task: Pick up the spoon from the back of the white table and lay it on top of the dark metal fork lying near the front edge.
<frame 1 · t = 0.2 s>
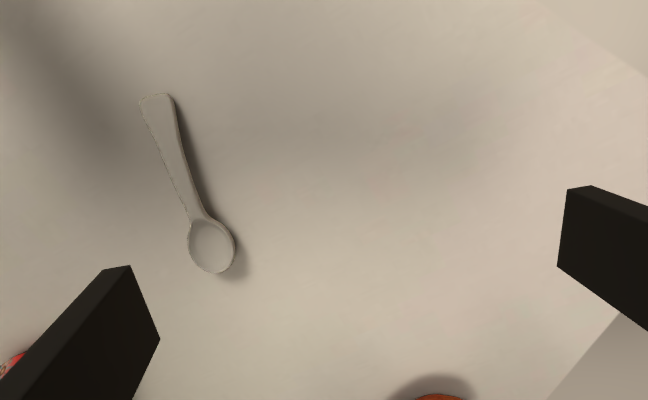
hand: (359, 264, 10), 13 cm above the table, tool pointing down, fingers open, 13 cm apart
spoon: (194, 186, 22), on the table
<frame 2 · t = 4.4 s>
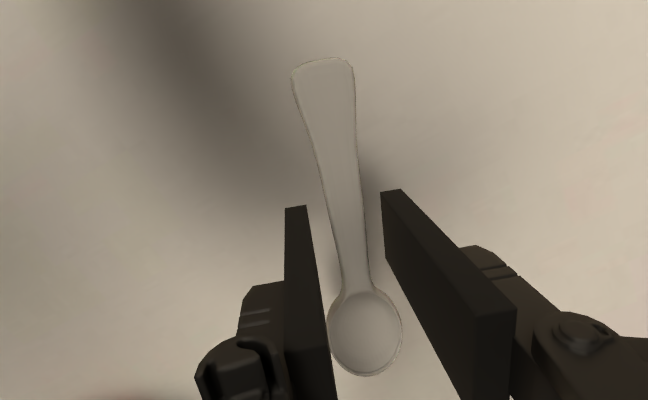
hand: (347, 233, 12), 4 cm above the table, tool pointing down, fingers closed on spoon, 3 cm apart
spoon: (344, 227, 13), point 3 cm above the table, touching gripper
when the fingers open (0 cm above the table, at t = 11.0 s): spoon stays where it is, resting on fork.
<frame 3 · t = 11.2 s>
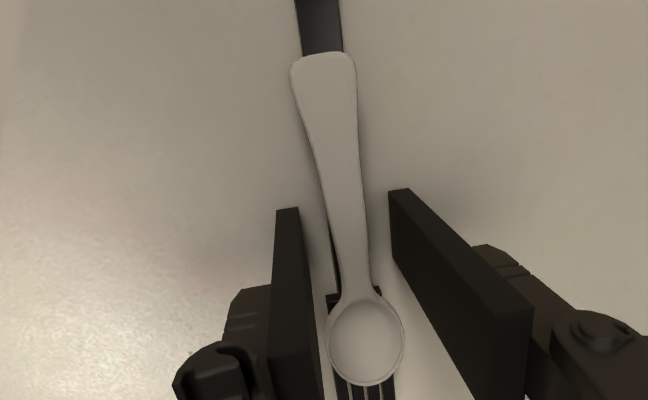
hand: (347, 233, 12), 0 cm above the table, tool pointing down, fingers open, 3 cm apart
spoon: (344, 231, 12), resting on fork
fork: (343, 223, 12), on the table, touching spoon
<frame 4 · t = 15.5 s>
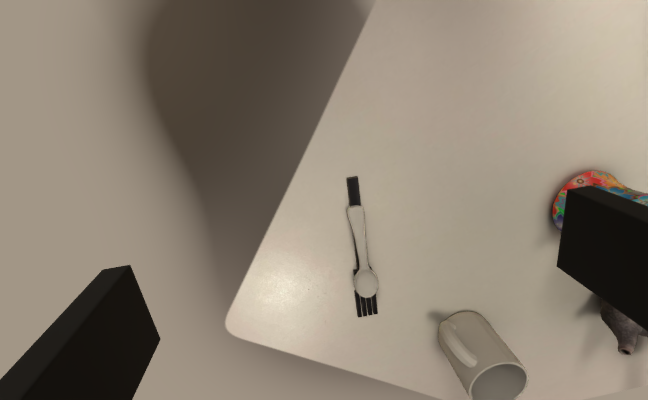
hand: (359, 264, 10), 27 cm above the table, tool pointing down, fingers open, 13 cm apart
cup: (454, 325, 47), on the table
spoon: (360, 249, 41), resting on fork
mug: (570, 209, 42), on the table
teapot: (627, 303, 49), on the table
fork: (359, 247, 41), on the table, touching spoon
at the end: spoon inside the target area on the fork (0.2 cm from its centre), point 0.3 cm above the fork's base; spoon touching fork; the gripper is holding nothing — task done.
